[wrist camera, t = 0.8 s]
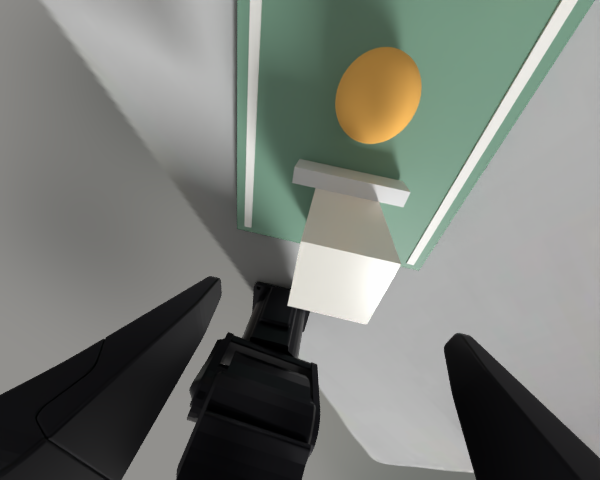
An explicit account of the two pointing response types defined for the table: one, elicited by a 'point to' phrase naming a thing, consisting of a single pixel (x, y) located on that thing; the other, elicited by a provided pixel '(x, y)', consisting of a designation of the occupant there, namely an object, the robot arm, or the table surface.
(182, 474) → the robot arm
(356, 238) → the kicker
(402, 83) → the ball
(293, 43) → the board
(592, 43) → the table surface
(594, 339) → the table surface
